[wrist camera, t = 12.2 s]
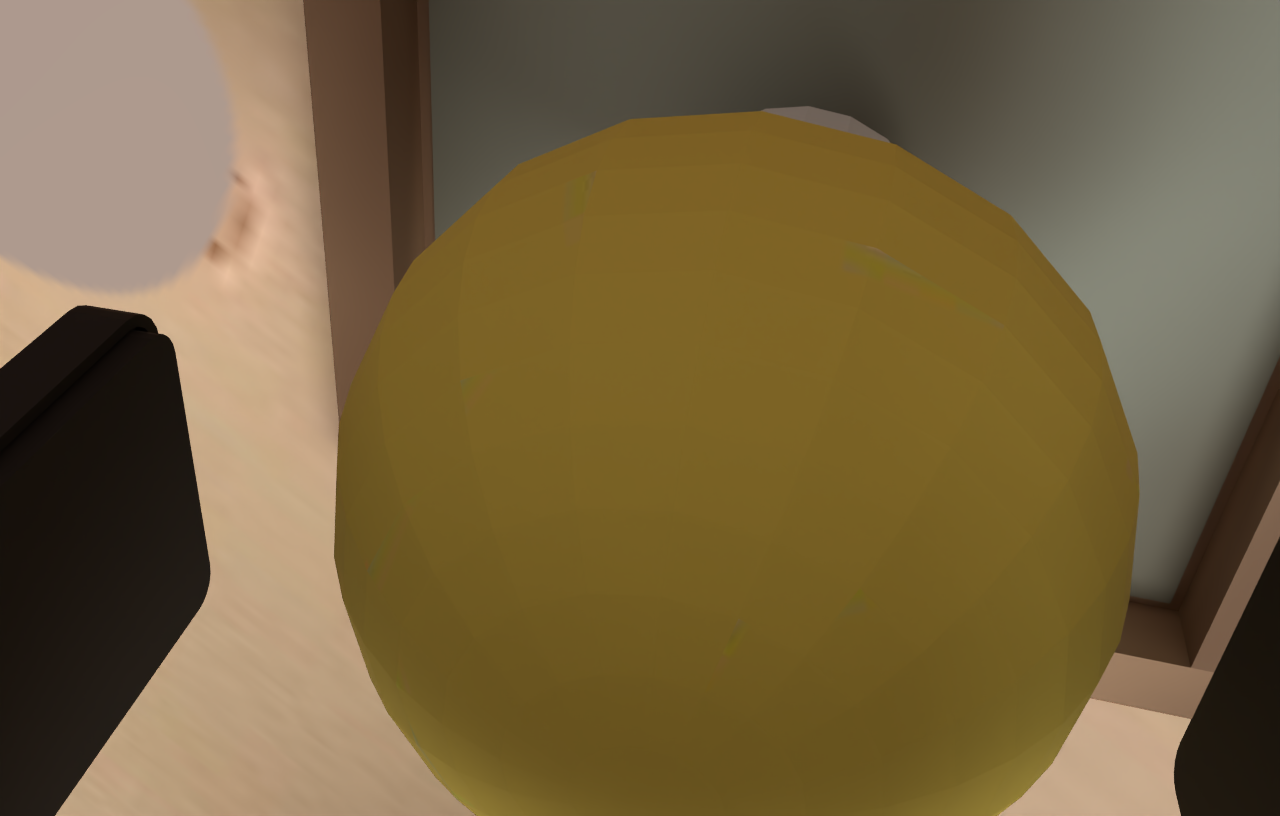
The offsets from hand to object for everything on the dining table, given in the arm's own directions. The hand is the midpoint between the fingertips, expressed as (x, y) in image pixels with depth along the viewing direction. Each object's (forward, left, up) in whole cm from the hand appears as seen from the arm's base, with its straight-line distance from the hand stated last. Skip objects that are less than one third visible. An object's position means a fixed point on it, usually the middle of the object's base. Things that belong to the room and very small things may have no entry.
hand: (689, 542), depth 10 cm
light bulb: (0, 0, -7) cm, 7 cm away
